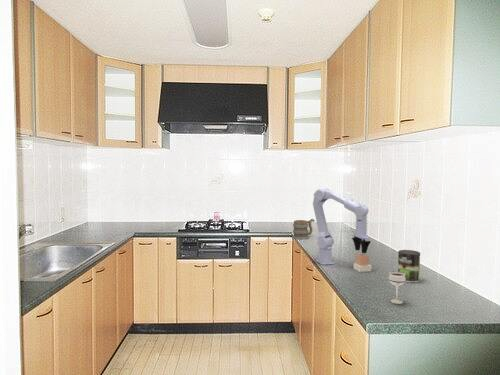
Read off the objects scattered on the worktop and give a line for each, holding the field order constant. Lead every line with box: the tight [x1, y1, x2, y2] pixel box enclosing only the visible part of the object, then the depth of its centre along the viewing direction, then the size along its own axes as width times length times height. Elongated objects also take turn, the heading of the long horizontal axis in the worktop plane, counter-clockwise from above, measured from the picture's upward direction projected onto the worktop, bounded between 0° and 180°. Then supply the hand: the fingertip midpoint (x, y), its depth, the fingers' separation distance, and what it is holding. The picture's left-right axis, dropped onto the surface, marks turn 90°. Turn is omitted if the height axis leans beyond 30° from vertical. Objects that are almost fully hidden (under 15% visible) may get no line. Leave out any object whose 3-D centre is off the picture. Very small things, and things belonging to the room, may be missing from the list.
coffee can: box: [397, 249, 421, 284], centre depth 189 cm, size 10×10×14 cm
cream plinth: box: [353, 262, 372, 273], centre depth 208 cm, size 7×7×3 cm
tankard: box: [291, 218, 316, 241], centre depth 304 cm, size 20×13×15 cm, turn 114°
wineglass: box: [388, 270, 406, 305], centre depth 158 cm, size 7×7×12 cm
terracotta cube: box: [355, 253, 370, 266], centre depth 208 cm, size 5×5×5 cm
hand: (360, 251), depth 209 cm, fingers open, 7 cm apart
